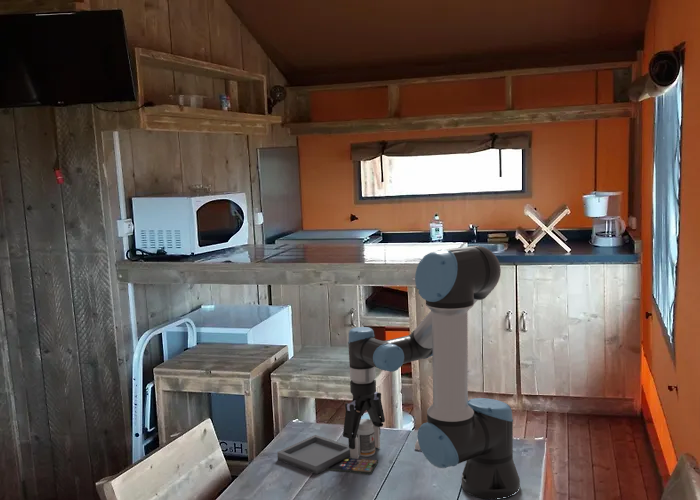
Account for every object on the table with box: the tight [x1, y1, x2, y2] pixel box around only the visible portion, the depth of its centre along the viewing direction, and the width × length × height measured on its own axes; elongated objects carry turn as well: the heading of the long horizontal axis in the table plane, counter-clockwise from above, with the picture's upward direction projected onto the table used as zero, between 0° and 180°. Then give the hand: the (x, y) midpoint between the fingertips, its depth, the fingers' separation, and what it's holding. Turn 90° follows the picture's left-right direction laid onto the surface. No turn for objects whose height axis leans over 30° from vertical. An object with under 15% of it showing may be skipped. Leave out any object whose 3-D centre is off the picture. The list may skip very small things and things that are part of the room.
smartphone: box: [324, 457, 379, 475], centre depth 199 cm, size 8×15×1 cm, turn 73°
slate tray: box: [276, 434, 350, 475], centre depth 206 cm, size 16×16×2 cm
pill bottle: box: [356, 418, 376, 458], centre depth 206 cm, size 6×6×10 cm
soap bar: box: [414, 438, 421, 451], centre depth 212 cm, size 5×9×3 cm, turn 164°
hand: (365, 452), depth 207 cm, fingers open, 9 cm apart
